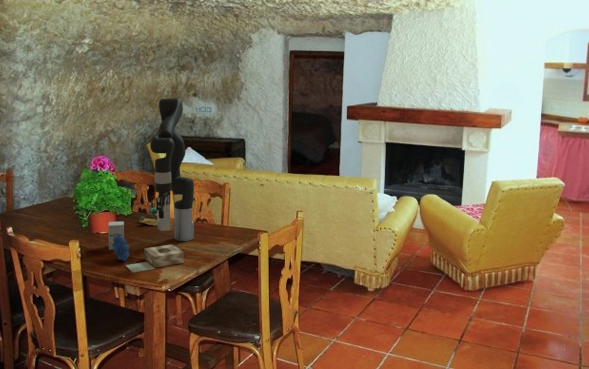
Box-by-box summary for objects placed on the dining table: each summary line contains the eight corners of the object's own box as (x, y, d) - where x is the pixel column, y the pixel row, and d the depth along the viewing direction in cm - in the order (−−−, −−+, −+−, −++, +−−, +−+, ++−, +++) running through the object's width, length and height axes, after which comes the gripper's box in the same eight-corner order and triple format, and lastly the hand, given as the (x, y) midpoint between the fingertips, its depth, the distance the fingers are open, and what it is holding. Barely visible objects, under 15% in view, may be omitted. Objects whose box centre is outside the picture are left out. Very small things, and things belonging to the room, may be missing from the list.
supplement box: (108, 250, 289) (107, 225, 287) (109, 245, 296) (108, 221, 294) (124, 249, 291) (123, 224, 289) (124, 244, 298) (123, 220, 296)
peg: (166, 227, 277) (166, 202, 274) (170, 229, 273) (169, 204, 271) (157, 228, 274) (157, 203, 272) (161, 231, 271) (160, 205, 268)
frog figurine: (147, 219, 348) (149, 195, 344) (168, 228, 338) (170, 203, 335) (134, 222, 340) (136, 198, 336) (155, 231, 330) (157, 206, 327)
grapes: (105, 259, 276) (105, 234, 274) (118, 256, 281) (117, 231, 279) (120, 265, 269) (119, 240, 266) (132, 261, 274) (132, 237, 271)
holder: (172, 254, 286) (172, 244, 285) (183, 262, 275) (183, 252, 274) (144, 258, 278) (144, 248, 278) (155, 267, 267) (155, 256, 266)
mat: (146, 262, 273) (146, 261, 273) (154, 269, 265) (154, 268, 265) (125, 266, 268) (125, 265, 267) (133, 272, 259) (132, 271, 259)
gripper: (160, 177, 276) (160, 212, 280) (149, 184, 262) (150, 220, 266) (175, 178, 276) (176, 213, 279) (166, 184, 262) (166, 221, 265)
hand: (163, 216), depth 272 cm, fingers closed on peg, 6 cm apart
